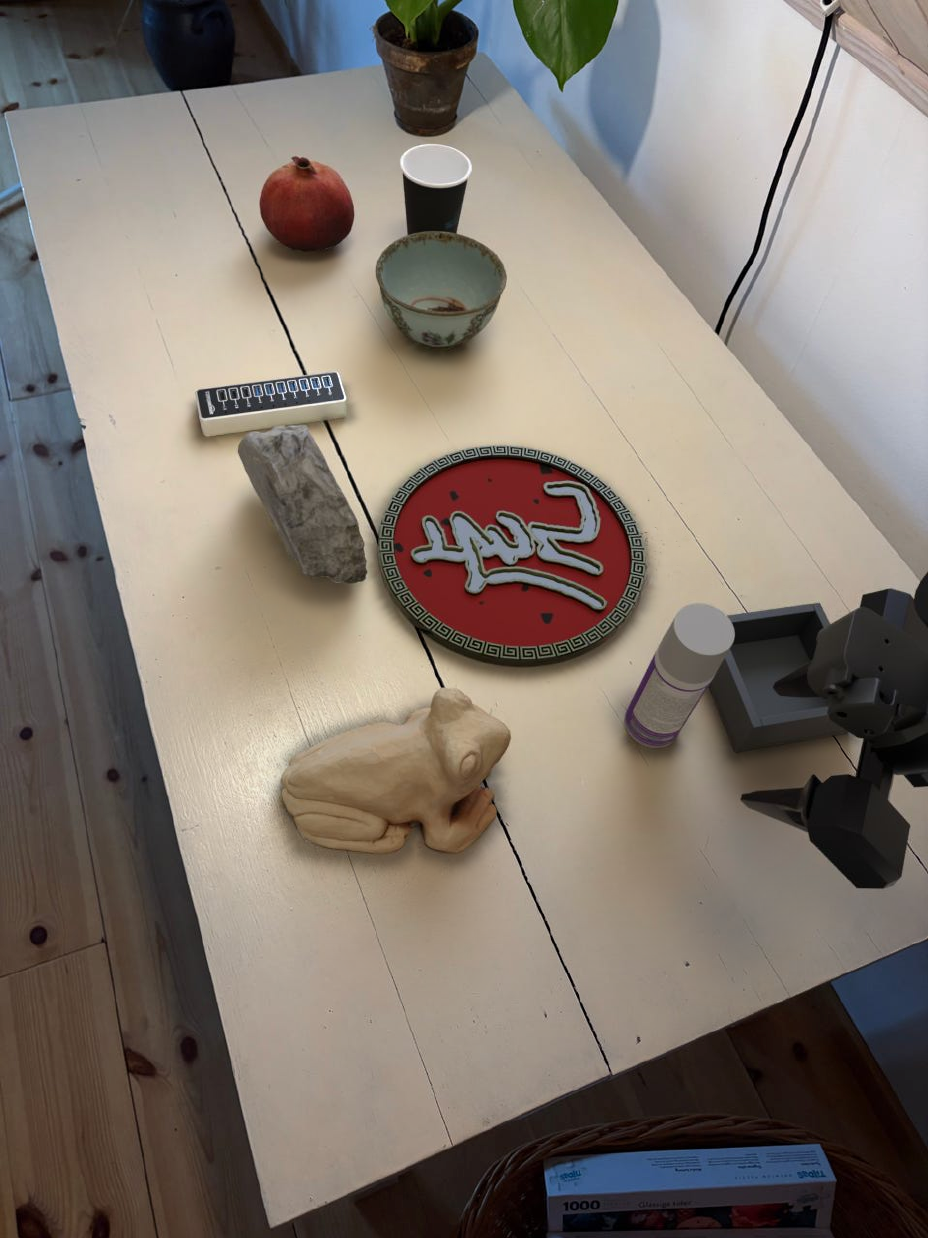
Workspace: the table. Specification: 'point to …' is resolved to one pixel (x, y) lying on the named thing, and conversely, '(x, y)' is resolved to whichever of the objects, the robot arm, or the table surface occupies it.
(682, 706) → the container
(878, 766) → the robot arm
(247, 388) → the multiport hub
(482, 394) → the table surface
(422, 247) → the bowl
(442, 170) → the dixie cup
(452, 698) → the figurine
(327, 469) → the decorative rock
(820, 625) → the storage bin
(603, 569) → the decorative plate
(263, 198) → the fruit
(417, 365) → the table surface
